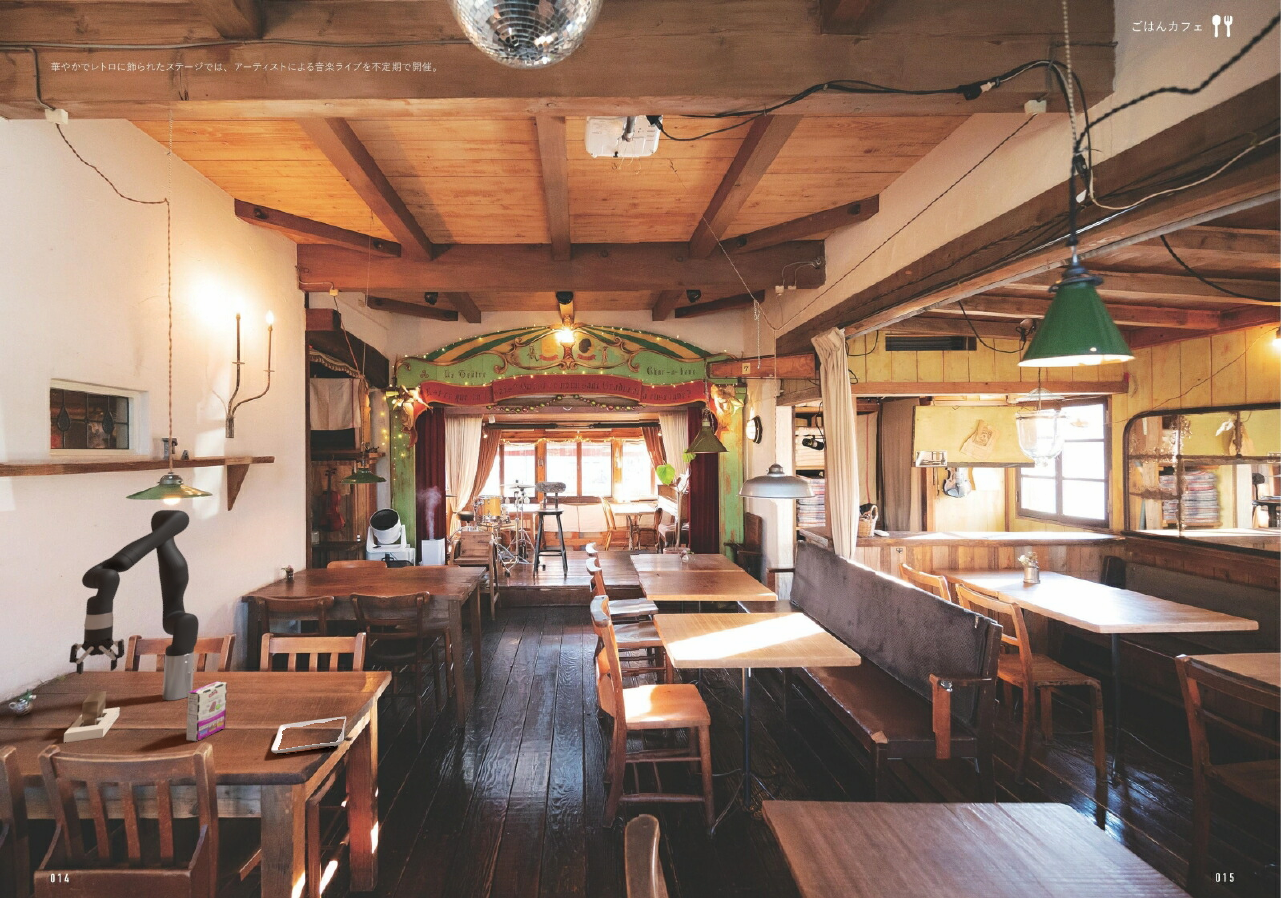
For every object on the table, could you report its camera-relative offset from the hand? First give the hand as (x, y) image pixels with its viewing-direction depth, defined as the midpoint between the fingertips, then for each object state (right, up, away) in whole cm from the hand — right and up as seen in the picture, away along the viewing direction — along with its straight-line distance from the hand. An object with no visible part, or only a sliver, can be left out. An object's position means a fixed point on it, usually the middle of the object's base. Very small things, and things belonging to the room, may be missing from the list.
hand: (96, 672), depth 213 cm
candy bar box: (+40, -21, -2) cm, 45 cm away
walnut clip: (-1, -20, -1) cm, 20 cm away
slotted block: (-1, -20, -1) cm, 20 cm away
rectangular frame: (+78, -23, -4) cm, 81 cm away
